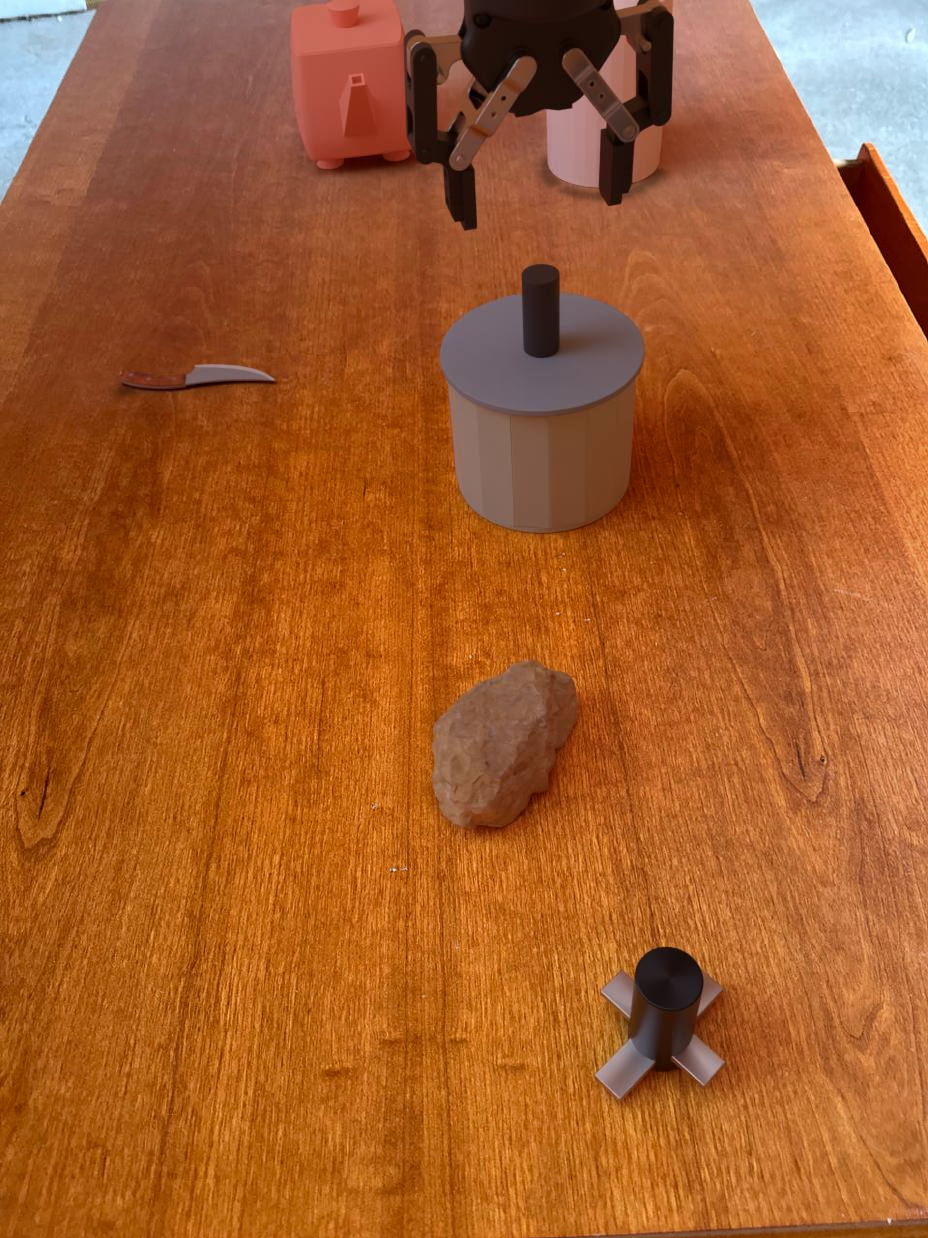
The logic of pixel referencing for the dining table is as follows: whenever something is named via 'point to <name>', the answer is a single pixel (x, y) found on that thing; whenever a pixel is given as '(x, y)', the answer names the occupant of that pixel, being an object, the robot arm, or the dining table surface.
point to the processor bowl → (543, 463)
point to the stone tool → (501, 744)
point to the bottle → (600, 123)
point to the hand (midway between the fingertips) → (539, 211)
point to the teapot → (349, 80)
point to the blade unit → (661, 1021)
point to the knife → (192, 376)
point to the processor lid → (542, 350)
